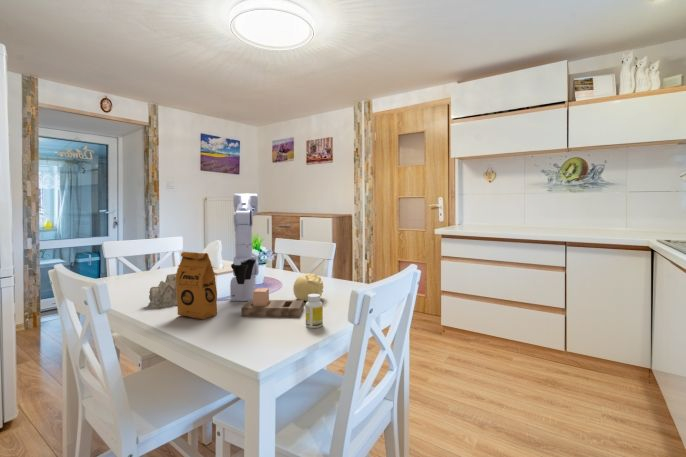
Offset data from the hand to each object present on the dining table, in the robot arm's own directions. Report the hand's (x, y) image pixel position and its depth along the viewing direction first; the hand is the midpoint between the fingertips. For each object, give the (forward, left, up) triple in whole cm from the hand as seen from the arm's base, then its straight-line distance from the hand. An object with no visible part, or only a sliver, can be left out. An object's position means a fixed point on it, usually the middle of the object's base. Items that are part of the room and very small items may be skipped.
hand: (244, 281), depth 127 cm
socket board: (+11, -2, -10) cm, 15 cm away
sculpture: (+21, +15, -11) cm, 28 cm away
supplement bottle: (+27, -15, -11) cm, 33 cm away
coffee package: (-14, -7, -11) cm, 19 cm away
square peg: (+7, -2, -10) cm, 13 cm away
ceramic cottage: (-33, +10, -11) cm, 36 cm away
